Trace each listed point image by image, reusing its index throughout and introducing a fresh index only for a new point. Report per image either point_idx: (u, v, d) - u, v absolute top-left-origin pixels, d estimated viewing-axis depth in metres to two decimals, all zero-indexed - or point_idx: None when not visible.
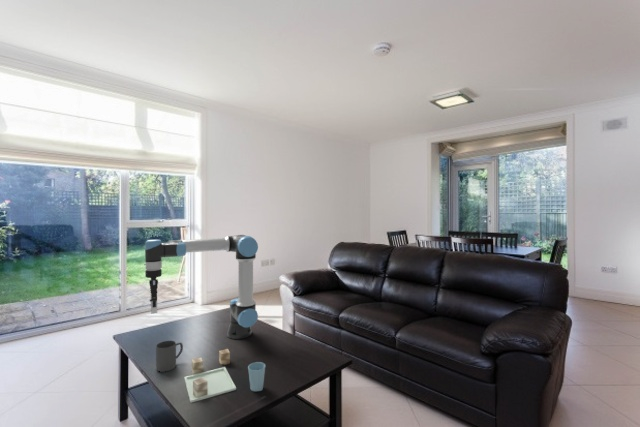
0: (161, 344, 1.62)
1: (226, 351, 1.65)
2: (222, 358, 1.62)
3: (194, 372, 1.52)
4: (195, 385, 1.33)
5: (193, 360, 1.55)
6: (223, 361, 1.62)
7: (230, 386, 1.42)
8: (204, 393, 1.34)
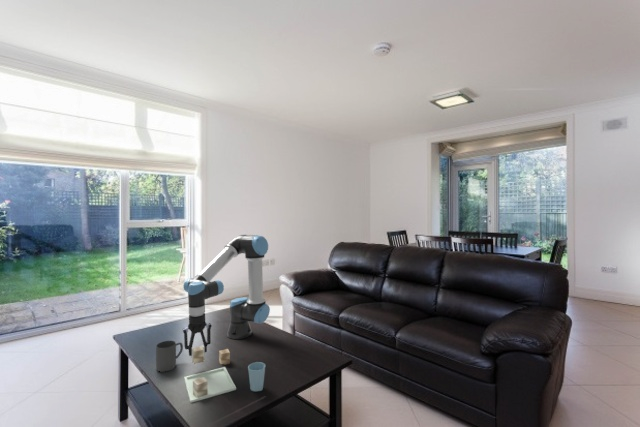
0: (161, 344, 1.62)
1: (226, 351, 1.65)
2: (222, 358, 1.62)
3: (195, 360, 1.53)
4: (195, 385, 1.33)
5: (194, 349, 1.55)
6: (223, 361, 1.62)
7: (230, 386, 1.42)
8: (204, 393, 1.34)
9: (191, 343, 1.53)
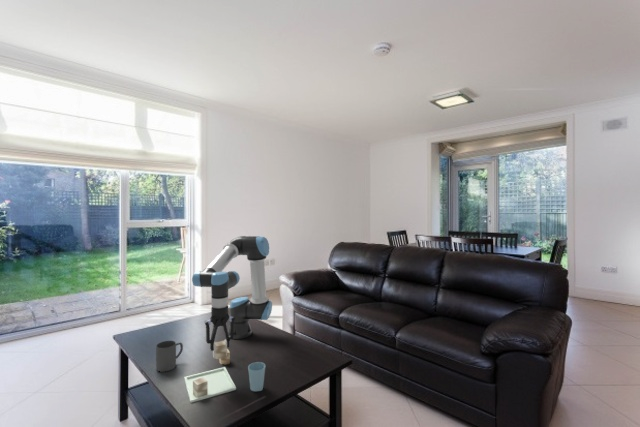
0: (161, 344, 1.62)
1: None
2: (222, 358, 1.62)
3: (217, 356, 1.43)
4: (195, 385, 1.33)
5: (215, 343, 1.45)
6: (223, 361, 1.62)
7: (230, 386, 1.42)
8: (204, 393, 1.34)
9: (214, 336, 1.43)
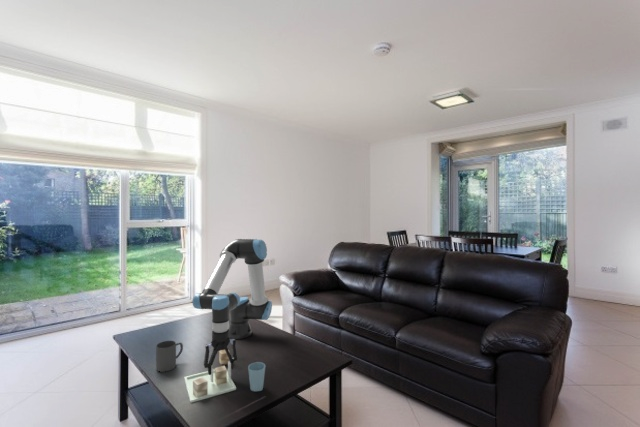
0: (161, 344, 1.62)
1: None
2: (222, 358, 1.62)
3: (218, 382, 1.43)
4: (195, 385, 1.33)
5: (216, 369, 1.45)
6: (223, 361, 1.62)
7: (230, 386, 1.42)
8: (204, 393, 1.34)
9: (212, 361, 1.42)
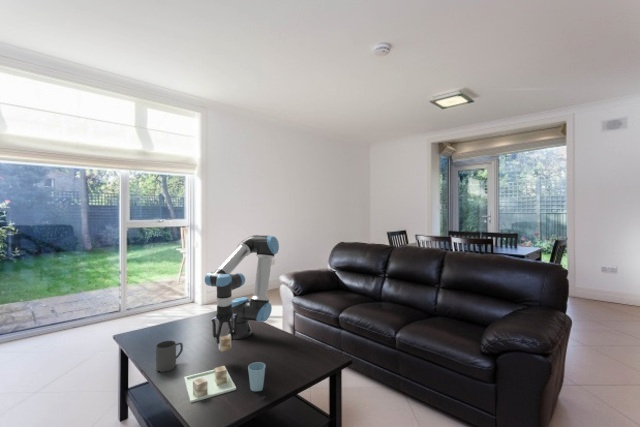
0: (161, 344, 1.62)
1: (226, 337, 1.65)
2: (223, 344, 1.62)
3: (218, 382, 1.43)
4: (195, 385, 1.33)
5: (216, 369, 1.45)
6: (224, 347, 1.62)
7: (230, 386, 1.42)
8: (204, 393, 1.34)
9: (219, 331, 1.62)
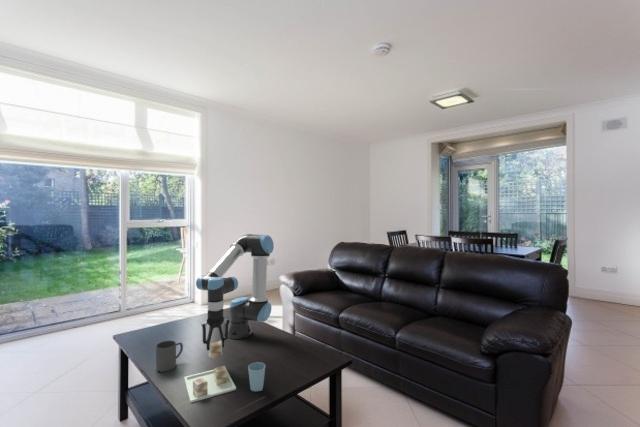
0: (161, 344, 1.62)
1: (217, 343, 1.57)
2: (213, 351, 1.54)
3: (218, 382, 1.43)
4: (195, 385, 1.33)
5: (216, 369, 1.45)
6: (214, 354, 1.55)
7: (230, 386, 1.42)
8: (204, 393, 1.34)
9: (210, 337, 1.55)
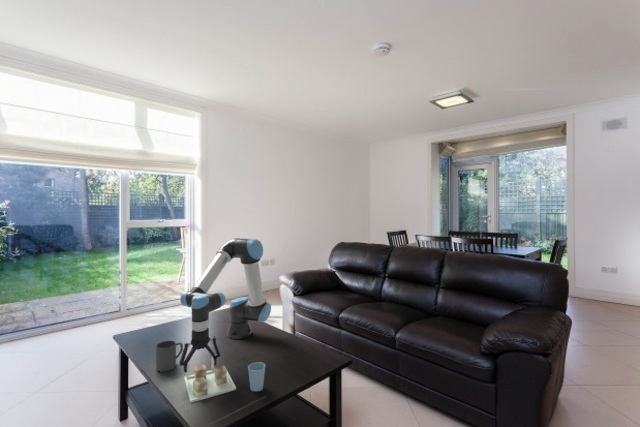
0: (161, 344, 1.62)
1: (202, 367, 1.47)
2: (197, 375, 1.44)
3: (218, 382, 1.43)
4: (195, 385, 1.33)
5: (216, 369, 1.45)
6: None
7: (230, 386, 1.42)
8: (204, 393, 1.34)
9: (189, 359, 1.43)
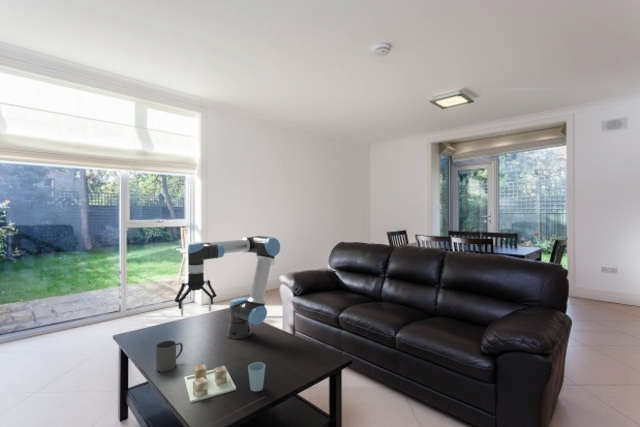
0: (161, 344, 1.62)
1: (202, 367, 1.47)
2: (197, 375, 1.44)
3: (218, 382, 1.43)
4: (195, 385, 1.33)
5: (216, 369, 1.45)
6: None
7: (230, 386, 1.42)
8: (204, 393, 1.34)
9: (184, 297, 1.59)
